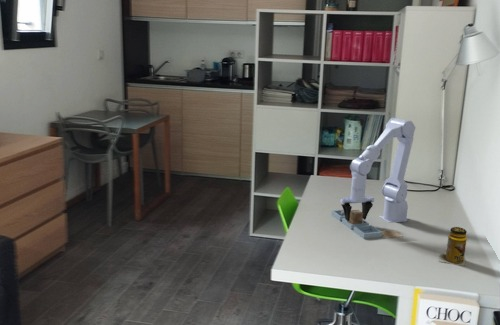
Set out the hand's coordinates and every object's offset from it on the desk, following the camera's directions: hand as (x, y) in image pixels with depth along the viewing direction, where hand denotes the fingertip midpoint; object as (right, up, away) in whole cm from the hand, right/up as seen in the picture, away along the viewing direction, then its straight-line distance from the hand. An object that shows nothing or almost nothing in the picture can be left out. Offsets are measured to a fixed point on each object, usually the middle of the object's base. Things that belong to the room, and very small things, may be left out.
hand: (355, 219), depth 213 cm
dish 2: (0, -3, +1) cm, 3 cm away
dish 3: (+3, -5, -8) cm, 10 cm away
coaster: (+12, -5, -8) cm, 15 cm away
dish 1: (-3, -1, +10) cm, 10 cm away
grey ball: (-3, 0, +10) cm, 10 cm away
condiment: (+29, -12, -29) cm, 42 cm away
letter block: (0, -2, +1) cm, 3 cm away
